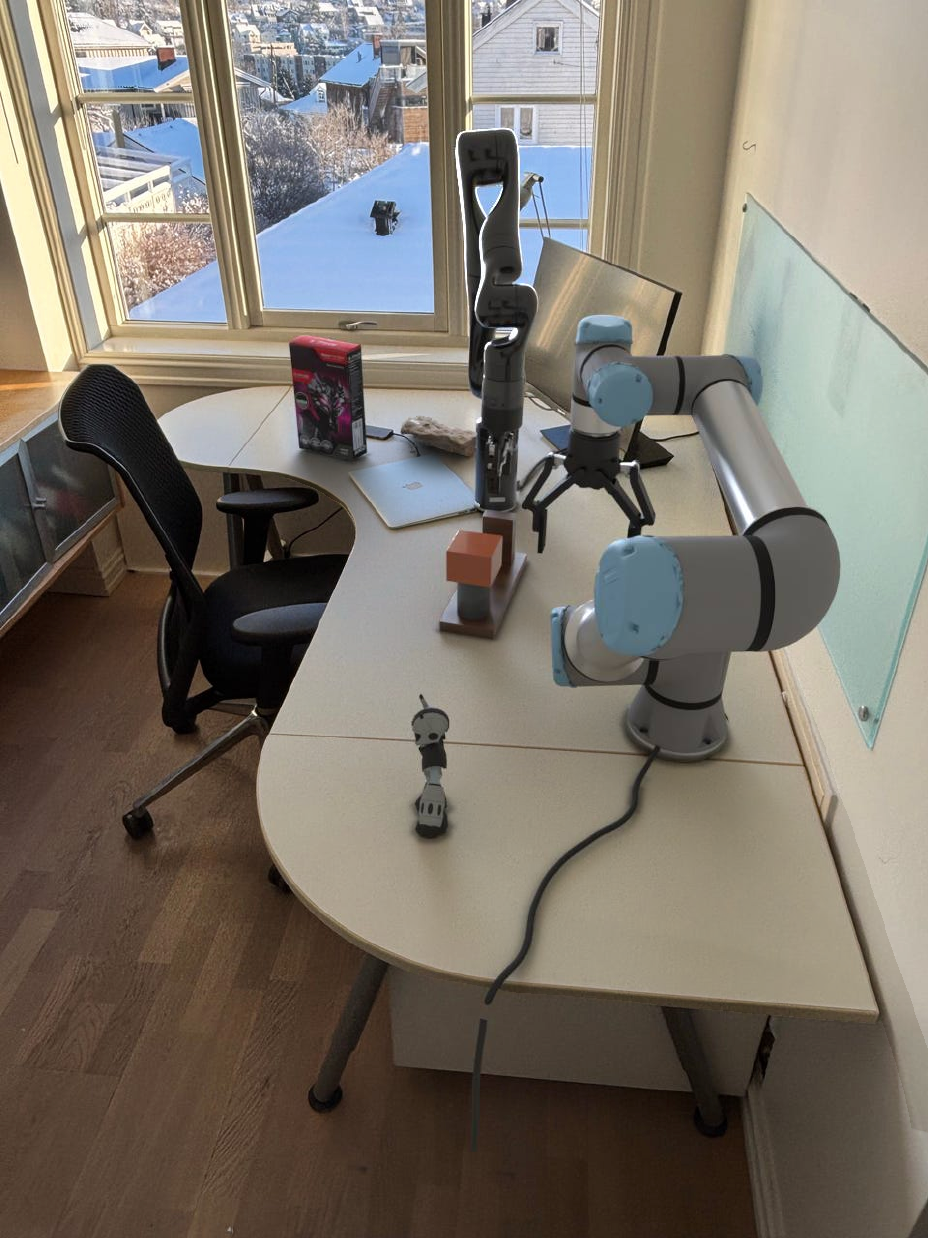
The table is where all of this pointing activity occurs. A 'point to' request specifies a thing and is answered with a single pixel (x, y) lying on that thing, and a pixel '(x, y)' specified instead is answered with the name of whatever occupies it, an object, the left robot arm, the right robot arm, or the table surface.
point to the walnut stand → (487, 605)
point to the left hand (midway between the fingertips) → (499, 483)
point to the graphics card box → (329, 396)
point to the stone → (440, 435)
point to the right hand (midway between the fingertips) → (583, 555)
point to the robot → (431, 769)
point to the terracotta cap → (474, 558)
